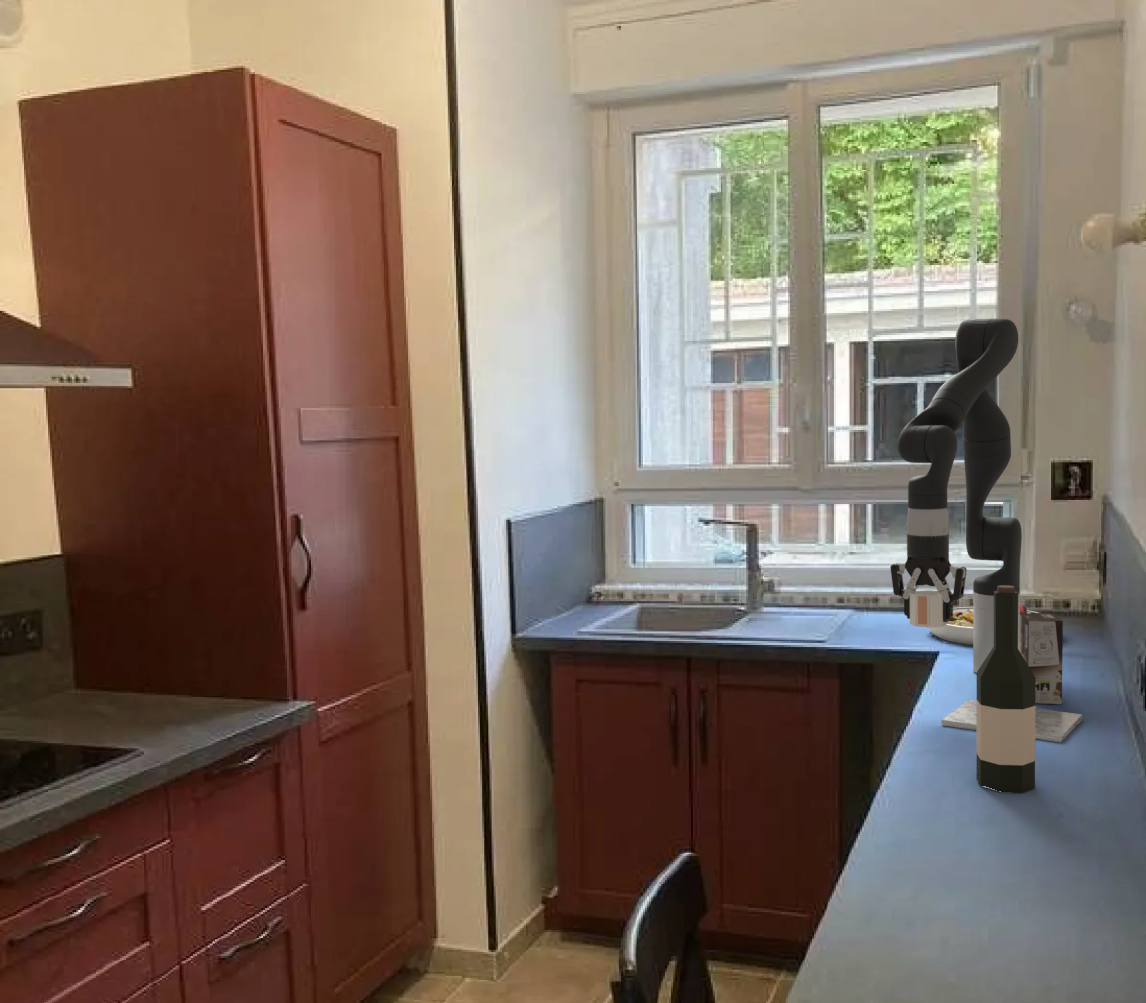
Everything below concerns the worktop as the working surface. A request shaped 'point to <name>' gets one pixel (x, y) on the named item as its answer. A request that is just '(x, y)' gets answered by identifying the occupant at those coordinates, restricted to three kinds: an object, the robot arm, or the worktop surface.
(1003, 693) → the wine bottle
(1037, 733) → the duct plate
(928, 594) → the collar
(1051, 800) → the worktop surface
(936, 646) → the worktop surface
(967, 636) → the bowl
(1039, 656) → the coffee box
